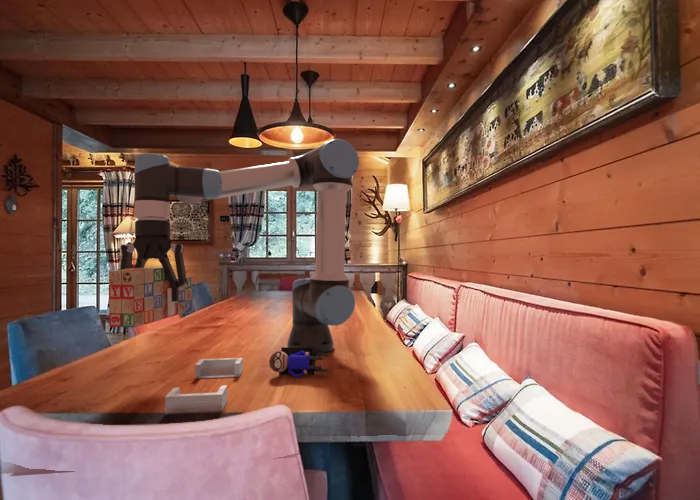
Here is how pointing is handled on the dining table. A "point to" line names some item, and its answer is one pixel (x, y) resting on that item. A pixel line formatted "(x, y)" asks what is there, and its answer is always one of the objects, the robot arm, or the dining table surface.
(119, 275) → the stack of blocks
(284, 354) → the character figurine
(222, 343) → the dining table surface
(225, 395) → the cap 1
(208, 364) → the grey piece
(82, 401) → the dining table surface
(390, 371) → the dining table surface
